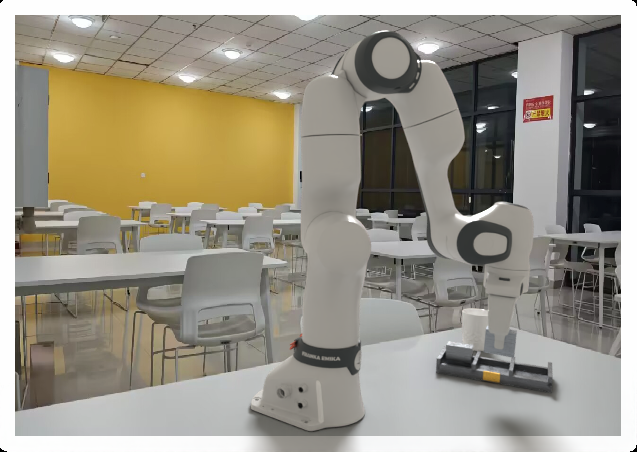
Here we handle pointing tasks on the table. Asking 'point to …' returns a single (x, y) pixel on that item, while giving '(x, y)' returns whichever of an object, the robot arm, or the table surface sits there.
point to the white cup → (474, 327)
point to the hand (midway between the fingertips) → (499, 345)
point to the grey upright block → (508, 344)
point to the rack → (492, 368)
